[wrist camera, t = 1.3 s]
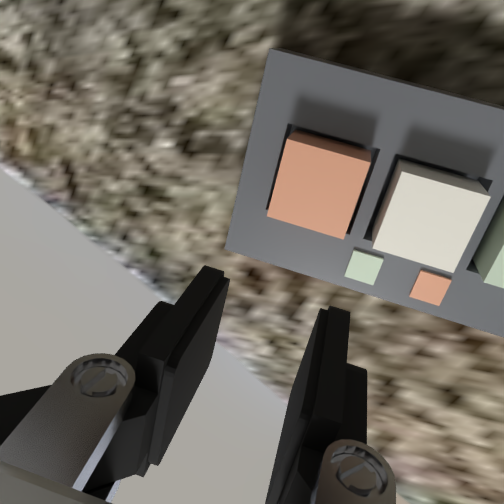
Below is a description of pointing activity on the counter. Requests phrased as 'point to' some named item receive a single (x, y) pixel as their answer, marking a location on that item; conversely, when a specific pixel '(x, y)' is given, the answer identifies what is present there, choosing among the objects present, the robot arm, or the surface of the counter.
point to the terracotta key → (319, 183)
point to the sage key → (492, 251)
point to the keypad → (371, 180)
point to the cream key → (428, 215)
